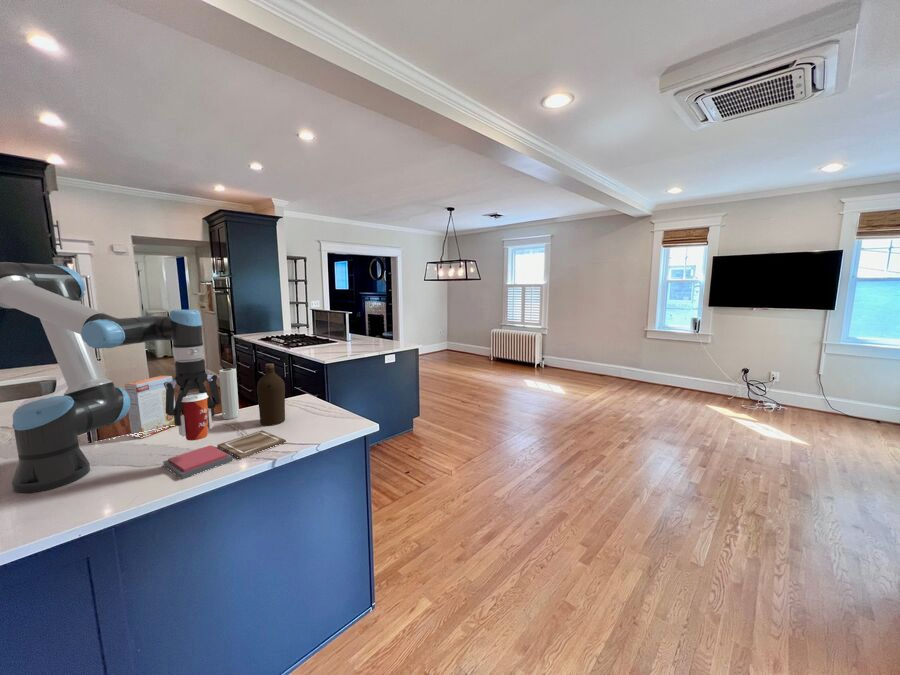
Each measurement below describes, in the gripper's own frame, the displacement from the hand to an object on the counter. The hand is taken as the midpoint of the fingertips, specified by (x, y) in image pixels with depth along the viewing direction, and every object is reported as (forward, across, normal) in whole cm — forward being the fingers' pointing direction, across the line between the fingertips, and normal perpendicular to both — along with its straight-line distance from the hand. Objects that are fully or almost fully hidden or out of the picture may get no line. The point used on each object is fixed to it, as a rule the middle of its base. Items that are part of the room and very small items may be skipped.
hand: (196, 430), depth 113 cm
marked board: (+11, +17, 0) cm, 20 cm away
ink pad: (+11, 0, 0) cm, 11 cm away
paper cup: (+2, 0, 0) cm, 2 cm away
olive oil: (+11, +34, +16) cm, 39 cm away
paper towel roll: (+11, +27, +36) cm, 46 cm away
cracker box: (+11, +2, +44) cm, 46 cm away
